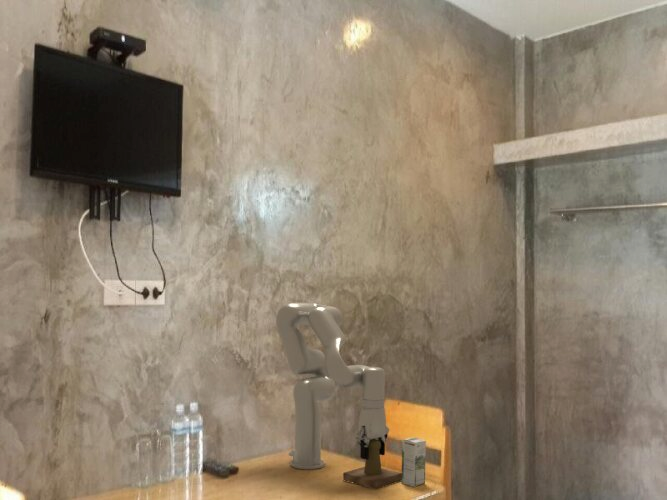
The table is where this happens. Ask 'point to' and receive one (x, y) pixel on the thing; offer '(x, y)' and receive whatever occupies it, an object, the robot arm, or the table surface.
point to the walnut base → (372, 478)
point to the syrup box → (413, 461)
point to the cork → (373, 458)
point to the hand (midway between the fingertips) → (372, 456)
